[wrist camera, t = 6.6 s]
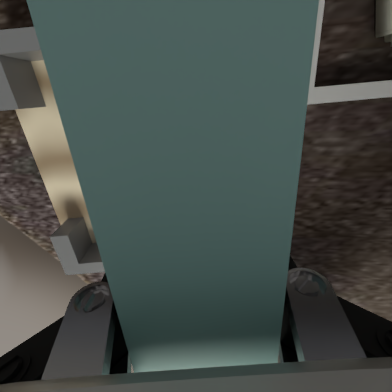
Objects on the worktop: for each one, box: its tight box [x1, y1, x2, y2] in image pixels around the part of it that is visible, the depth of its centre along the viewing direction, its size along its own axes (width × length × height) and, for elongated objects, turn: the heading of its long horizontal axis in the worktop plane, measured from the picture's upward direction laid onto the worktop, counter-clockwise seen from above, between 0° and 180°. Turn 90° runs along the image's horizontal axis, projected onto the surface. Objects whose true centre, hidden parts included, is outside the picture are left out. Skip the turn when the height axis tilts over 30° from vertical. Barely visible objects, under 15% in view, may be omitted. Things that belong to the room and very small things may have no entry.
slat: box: [26, 0, 319, 373], centre depth 9 cm, size 18×4×6 cm, turn 4°
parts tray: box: [307, 0, 392, 105], centre depth 20 cm, size 15×15×2 cm
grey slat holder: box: [0, 27, 105, 275], centre depth 24 cm, size 24×10×4 cm, turn 5°
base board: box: [15, 60, 97, 243], centre depth 26 cm, size 25×12×2 cm, turn 5°
